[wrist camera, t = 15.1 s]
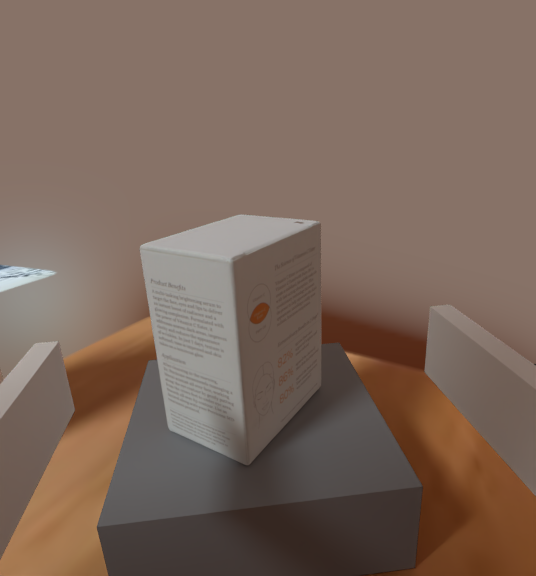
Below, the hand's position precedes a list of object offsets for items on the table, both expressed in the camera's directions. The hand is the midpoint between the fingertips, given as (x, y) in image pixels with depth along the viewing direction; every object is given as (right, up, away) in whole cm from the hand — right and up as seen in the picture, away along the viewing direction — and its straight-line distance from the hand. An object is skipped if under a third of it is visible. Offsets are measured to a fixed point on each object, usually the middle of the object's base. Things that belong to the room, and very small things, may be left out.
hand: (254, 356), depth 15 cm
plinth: (0, -9, +11) cm, 15 cm away
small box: (-1, -5, +10) cm, 11 cm away
